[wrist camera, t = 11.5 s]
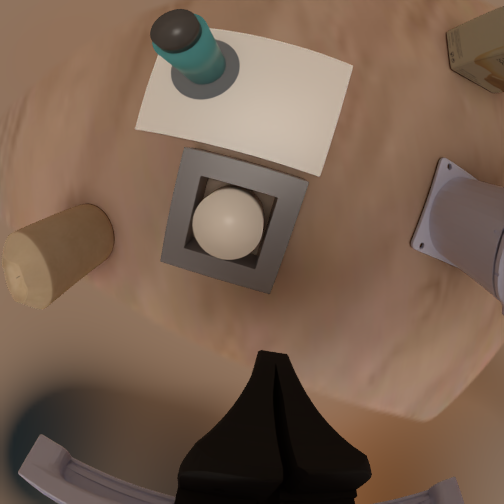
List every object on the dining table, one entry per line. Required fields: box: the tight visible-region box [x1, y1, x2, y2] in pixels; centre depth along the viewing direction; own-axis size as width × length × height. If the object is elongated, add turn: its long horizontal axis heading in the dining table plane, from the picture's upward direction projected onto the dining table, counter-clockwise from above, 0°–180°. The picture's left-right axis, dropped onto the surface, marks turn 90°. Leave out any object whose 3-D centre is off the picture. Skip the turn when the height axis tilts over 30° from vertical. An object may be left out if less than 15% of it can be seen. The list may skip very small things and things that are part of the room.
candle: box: [2, 204, 114, 309], centre depth 16 cm, size 6×6×10 cm
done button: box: [192, 185, 264, 260], centre depth 18 cm, size 4×4×3 cm
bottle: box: [150, 9, 226, 85], centre depth 13 cm, size 3×3×7 cm
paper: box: [135, 28, 353, 177], centre depth 17 cm, size 14×9×1 cm, turn 74°
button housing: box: [161, 147, 309, 294], centre depth 19 cm, size 8×8×3 cm
